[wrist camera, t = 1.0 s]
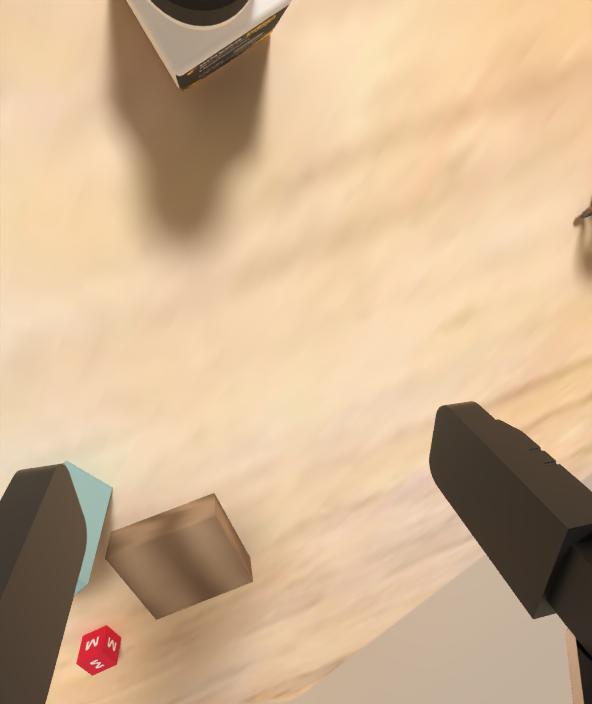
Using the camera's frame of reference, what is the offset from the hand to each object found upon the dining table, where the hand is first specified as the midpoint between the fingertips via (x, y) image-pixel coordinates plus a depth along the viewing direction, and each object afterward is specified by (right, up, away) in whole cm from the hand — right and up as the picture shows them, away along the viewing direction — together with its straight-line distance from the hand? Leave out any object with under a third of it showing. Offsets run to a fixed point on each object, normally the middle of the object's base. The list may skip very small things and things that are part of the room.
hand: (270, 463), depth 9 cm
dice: (-22, -31, +40) cm, 55 cm away
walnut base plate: (-11, -19, +36) cm, 42 cm away
